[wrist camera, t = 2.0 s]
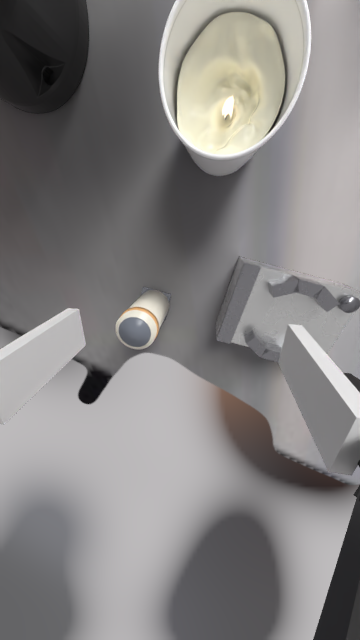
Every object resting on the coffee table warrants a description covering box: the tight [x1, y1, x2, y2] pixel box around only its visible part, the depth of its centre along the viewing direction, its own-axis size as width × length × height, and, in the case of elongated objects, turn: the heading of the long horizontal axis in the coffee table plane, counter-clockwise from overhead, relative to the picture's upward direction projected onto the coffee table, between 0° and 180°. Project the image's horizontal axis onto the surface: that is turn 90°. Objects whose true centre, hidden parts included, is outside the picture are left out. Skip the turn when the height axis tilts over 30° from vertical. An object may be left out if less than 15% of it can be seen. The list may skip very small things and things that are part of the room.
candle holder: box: [158, 0, 311, 176], centre depth 19 cm, size 10×10×12 cm
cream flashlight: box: [116, 287, 171, 349], centre depth 30 cm, size 5×5×10 cm
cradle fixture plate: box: [216, 256, 360, 362], centre depth 29 cm, size 15×11×7 cm
